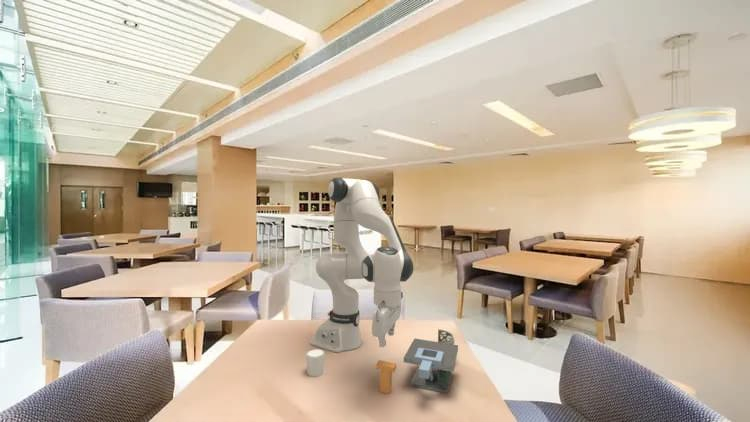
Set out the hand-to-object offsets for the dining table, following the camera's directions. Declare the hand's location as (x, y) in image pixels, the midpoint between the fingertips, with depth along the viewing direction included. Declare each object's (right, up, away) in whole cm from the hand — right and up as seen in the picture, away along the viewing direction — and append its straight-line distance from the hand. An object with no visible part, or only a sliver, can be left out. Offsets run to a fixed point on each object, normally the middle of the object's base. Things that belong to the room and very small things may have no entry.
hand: (387, 340), depth 100 cm
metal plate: (+16, -16, +6) cm, 24 cm away
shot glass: (-25, -16, +11) cm, 32 cm away
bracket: (+13, -8, -2) cm, 15 cm away
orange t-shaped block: (0, -16, +1) cm, 16 cm away
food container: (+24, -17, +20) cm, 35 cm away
